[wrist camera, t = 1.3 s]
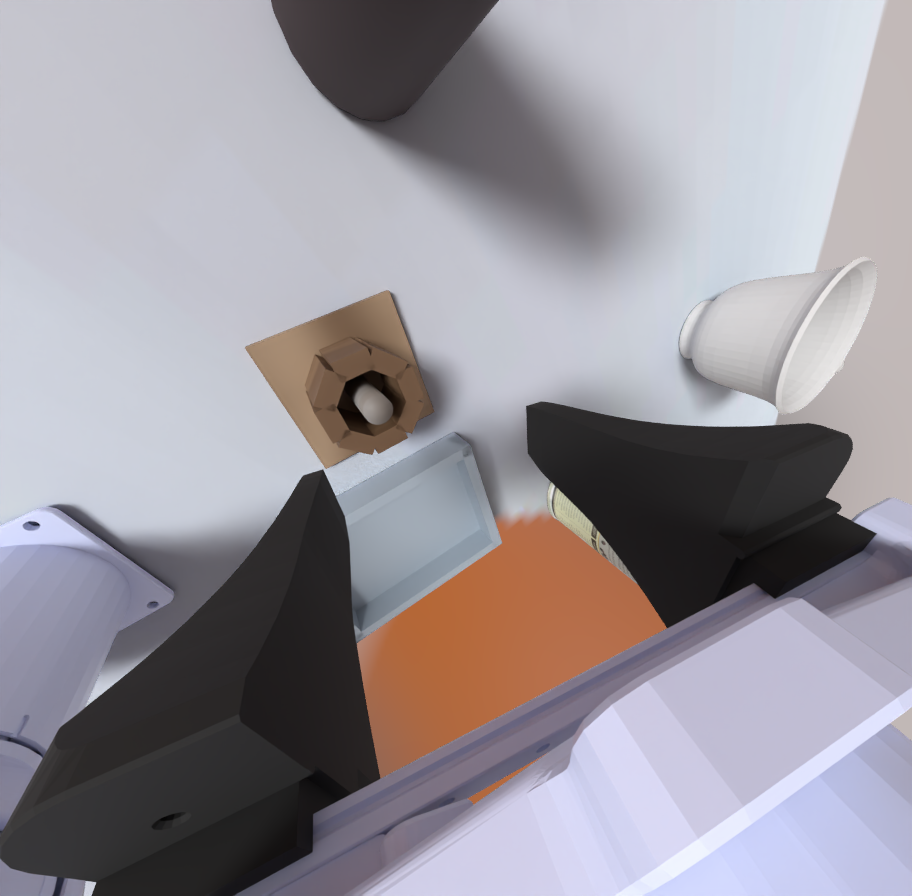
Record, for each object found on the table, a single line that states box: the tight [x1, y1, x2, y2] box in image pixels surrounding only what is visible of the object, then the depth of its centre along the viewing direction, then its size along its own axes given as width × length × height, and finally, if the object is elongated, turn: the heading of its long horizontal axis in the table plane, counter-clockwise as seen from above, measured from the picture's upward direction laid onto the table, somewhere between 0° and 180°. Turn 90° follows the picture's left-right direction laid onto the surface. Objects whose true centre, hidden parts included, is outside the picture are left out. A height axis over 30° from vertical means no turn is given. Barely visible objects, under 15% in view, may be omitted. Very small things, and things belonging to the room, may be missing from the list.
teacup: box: [679, 257, 877, 415], centre depth 31 cm, size 12×15×10 cm
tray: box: [336, 432, 502, 643], centre depth 25 cm, size 14×11×2 cm
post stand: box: [245, 290, 434, 469], centre depth 18 cm, size 8×8×6 cm
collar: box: [305, 337, 424, 455], centre depth 18 cm, size 5×5×4 cm
